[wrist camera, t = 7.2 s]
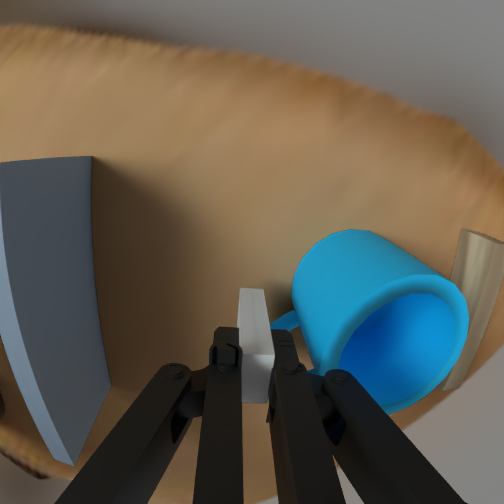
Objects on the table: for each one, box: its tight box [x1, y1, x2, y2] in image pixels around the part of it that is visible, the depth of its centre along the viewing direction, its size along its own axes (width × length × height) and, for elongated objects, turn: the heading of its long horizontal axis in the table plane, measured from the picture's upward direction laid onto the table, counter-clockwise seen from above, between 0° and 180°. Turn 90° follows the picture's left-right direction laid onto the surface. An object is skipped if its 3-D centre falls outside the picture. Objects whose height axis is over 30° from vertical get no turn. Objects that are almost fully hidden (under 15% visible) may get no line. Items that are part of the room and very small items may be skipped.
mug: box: [270, 229, 469, 415], centre depth 17 cm, size 12×8×8 cm
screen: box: [0, 156, 111, 466], centre depth 15 cm, size 4×18×9 cm, turn 175°
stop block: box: [438, 229, 504, 391], centre depth 20 cm, size 2×12×4 cm, turn 175°
